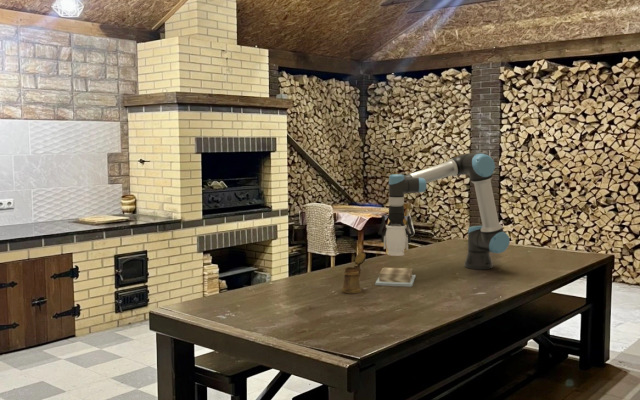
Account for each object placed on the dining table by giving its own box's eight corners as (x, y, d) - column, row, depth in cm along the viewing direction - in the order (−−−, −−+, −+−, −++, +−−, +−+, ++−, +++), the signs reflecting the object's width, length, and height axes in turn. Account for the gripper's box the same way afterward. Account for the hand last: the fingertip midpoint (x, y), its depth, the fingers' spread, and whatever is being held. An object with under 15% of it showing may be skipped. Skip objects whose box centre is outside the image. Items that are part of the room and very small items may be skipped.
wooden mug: (371, 289, 320) (371, 252, 318) (352, 294, 310) (352, 256, 308) (357, 286, 326) (357, 250, 324) (338, 291, 316) (338, 254, 315)
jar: (406, 253, 341) (406, 223, 339) (406, 256, 331) (407, 226, 329) (385, 252, 342) (385, 223, 340) (385, 256, 332) (385, 226, 330)
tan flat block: (412, 276, 343) (412, 268, 343) (409, 282, 329) (409, 274, 328) (383, 275, 346) (383, 267, 346) (379, 281, 332) (379, 273, 331)
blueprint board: (415, 277, 346) (415, 274, 346) (412, 286, 325) (412, 284, 325) (381, 275, 350) (381, 273, 350) (375, 285, 329) (375, 282, 329)
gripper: (420, 205, 335) (419, 248, 337) (374, 204, 340) (374, 247, 342) (419, 206, 328) (418, 251, 330) (372, 205, 333) (372, 249, 335)
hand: (395, 249), depth 336 cm, fingers closed on jar, 10 cm apart
